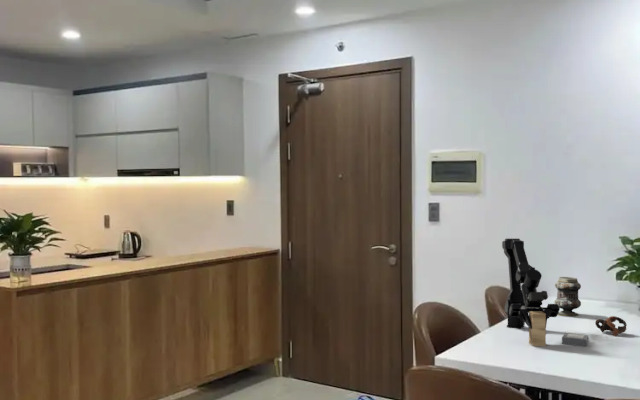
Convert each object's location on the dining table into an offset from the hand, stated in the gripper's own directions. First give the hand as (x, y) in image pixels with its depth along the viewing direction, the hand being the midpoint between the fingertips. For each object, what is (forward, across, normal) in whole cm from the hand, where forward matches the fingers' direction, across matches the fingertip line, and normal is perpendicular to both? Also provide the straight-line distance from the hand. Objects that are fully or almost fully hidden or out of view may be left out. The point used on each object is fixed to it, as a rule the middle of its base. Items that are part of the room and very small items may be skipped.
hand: (538, 328), depth 255 cm
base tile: (+1, +16, +8) cm, 18 cm away
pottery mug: (-11, +36, +21) cm, 43 cm away
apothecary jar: (-40, +32, +50) cm, 72 cm away
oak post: (+4, 0, +6) cm, 7 cm away
